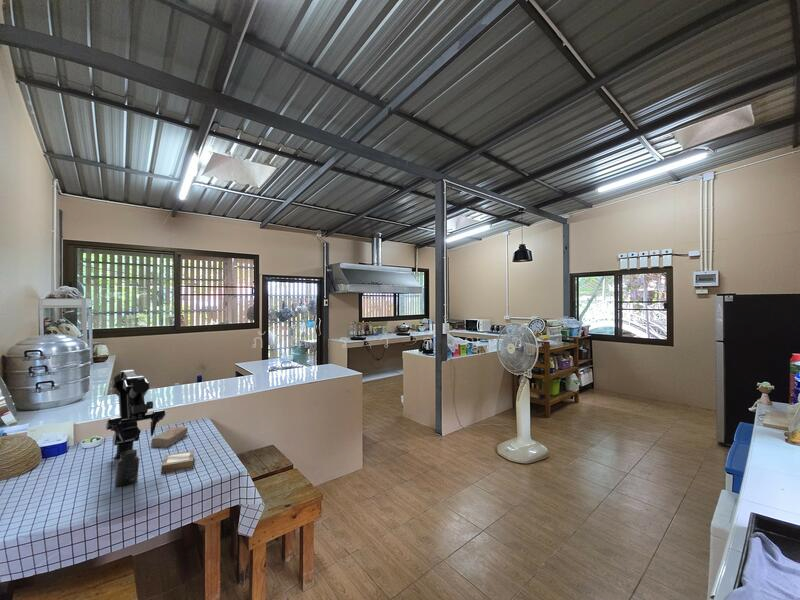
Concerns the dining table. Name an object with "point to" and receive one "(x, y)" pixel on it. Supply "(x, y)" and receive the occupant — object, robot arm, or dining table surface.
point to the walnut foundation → (177, 461)
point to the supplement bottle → (127, 469)
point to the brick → (169, 437)
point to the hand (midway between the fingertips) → (138, 439)
